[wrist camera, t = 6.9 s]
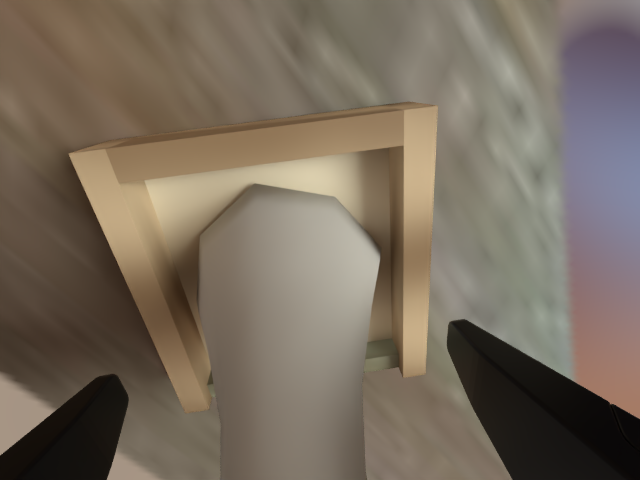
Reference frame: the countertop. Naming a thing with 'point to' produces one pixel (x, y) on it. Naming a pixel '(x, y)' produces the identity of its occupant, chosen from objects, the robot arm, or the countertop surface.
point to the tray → (279, 171)
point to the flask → (288, 334)
